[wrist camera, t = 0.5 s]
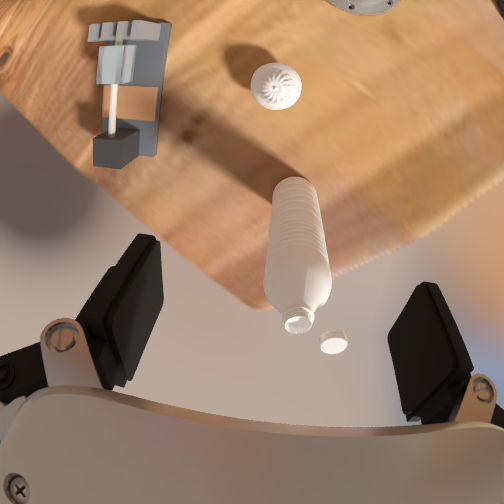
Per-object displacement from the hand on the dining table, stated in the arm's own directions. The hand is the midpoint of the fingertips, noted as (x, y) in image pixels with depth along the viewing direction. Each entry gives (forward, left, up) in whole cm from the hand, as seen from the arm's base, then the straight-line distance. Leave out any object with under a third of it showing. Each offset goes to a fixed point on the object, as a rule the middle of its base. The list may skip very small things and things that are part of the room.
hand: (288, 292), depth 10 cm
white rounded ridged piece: (-4, -2, -34) cm, 34 cm away
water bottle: (+12, +5, -34) cm, 36 cm away
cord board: (-1, -22, -34) cm, 41 cm away
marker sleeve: (-5, -22, -30) cm, 37 cm away
